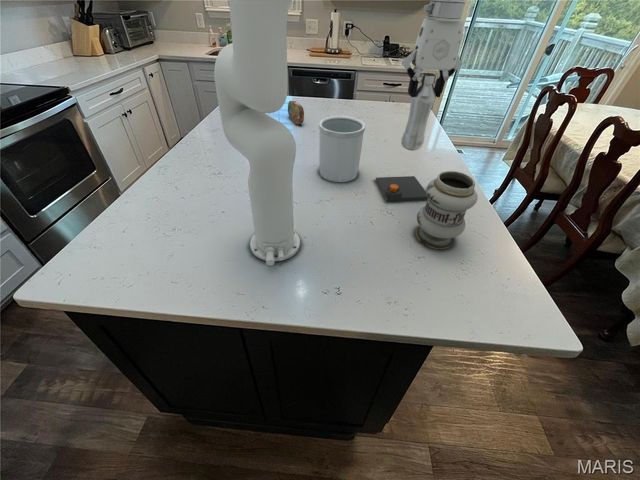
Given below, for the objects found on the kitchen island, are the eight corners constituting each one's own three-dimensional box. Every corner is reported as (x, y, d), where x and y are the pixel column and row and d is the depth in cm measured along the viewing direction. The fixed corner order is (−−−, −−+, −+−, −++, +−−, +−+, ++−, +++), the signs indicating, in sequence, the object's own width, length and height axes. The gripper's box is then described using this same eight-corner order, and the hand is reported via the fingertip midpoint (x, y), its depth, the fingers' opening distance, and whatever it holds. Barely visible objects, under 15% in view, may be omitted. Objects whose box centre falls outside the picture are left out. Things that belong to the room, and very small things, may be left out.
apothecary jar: (403, 235, 80) (420, 177, 68) (425, 218, 87) (445, 161, 75) (443, 259, 74) (470, 199, 62) (464, 238, 81) (493, 180, 69)
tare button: (398, 192, 92) (399, 188, 91) (390, 192, 92) (391, 188, 91) (395, 188, 94) (396, 183, 93) (388, 188, 93) (389, 184, 92)
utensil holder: (323, 185, 98) (326, 134, 86) (312, 165, 109) (313, 116, 97) (364, 181, 101) (372, 130, 90) (350, 161, 112) (355, 114, 100)
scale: (428, 200, 94) (431, 192, 92) (386, 202, 92) (387, 194, 90) (413, 179, 104) (415, 171, 102) (374, 181, 102) (375, 173, 100)
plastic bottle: (398, 151, 87) (415, 76, 74) (400, 142, 92) (417, 70, 79) (420, 154, 86) (442, 78, 73) (421, 145, 91) (442, 73, 78)
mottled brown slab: (287, 116, 146) (286, 98, 140) (293, 115, 147) (293, 97, 141) (298, 127, 136) (298, 108, 130) (305, 126, 137) (305, 107, 131)
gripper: (415, 12, 64) (397, 100, 75) (489, 15, 66) (460, 100, 78) (403, 9, 69) (388, 91, 81) (471, 12, 71) (447, 92, 83)
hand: (424, 95), depth 79 cm, fingers closed on plastic bottle, 6 cm apart
